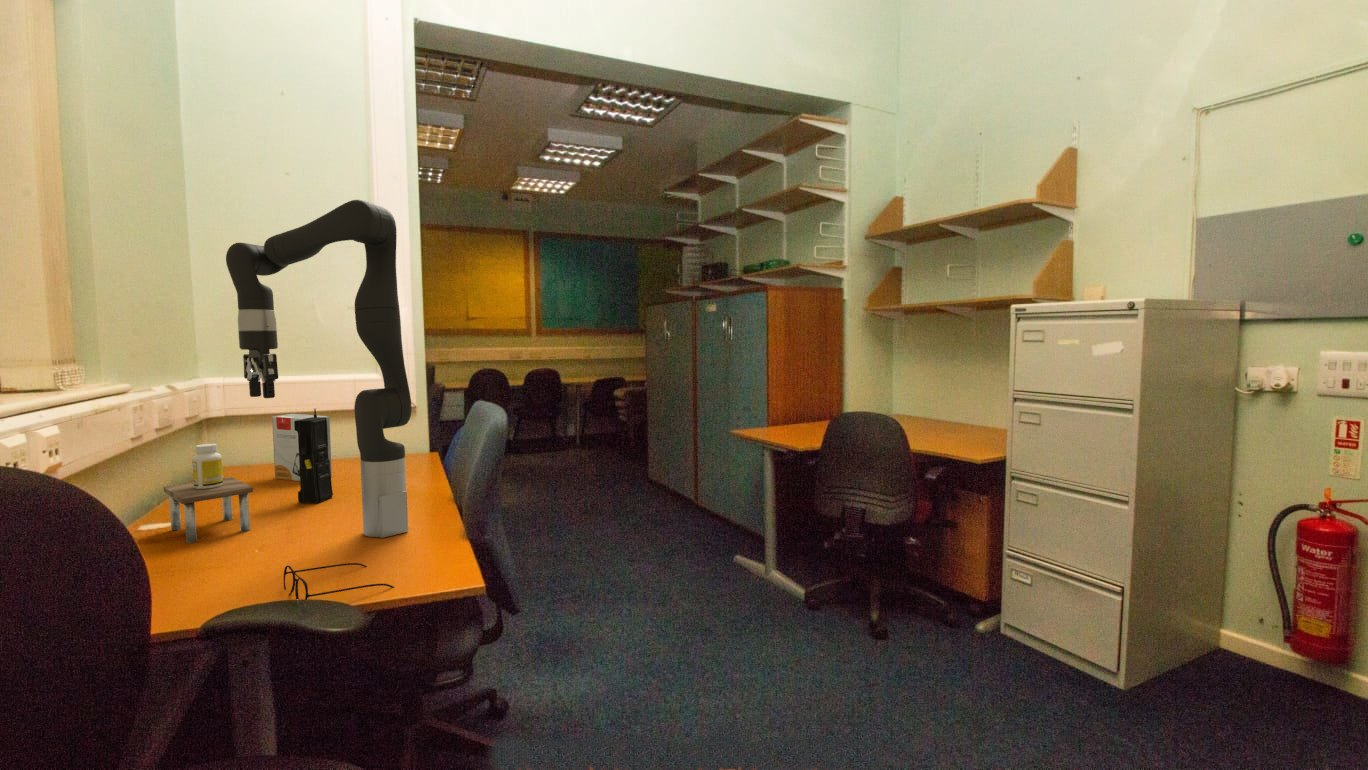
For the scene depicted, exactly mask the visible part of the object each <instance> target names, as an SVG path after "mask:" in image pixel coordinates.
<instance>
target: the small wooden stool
mask: <svg viewBox="0 0 1368 770" xmlns="http://www.w3.org/2000/svg"><path fill="white" fill-rule="evenodd" d="M163 493H165V494H166V495H167V496H168V497H169V498H168V500H169V513H170V514H169V515H170V529H171V530H177V531H181V530H182V518H181V504H182V505H183V509H184V510H183V512H184V527H185V541H186V542H185V543H186V544H193V543H195V542H198V539H197V525H196V524H197V522H196V507H195V506H196V505H195V503H198V502H204V501H209V500H215V499H221V500H222V501H221V502H222V503H221V504H222V515H223V517H222V518H223V519H222V520H223V521H225V522H227V521H228V522H229V521H232V520H233V503H232V502H233V501H232V497H234V496H238V507H239V508H238V509H239V527H240V529H239V530H240V532H241V533H243V532H249V531H251V521H250V518H251V517H250V503H249V494H250V493H254V488H253V486H251V485H249V484H247V483H245V482H243V481H240V480H239V479H237V478H235V477H232V476H228V477H223V485H221V486H219V487H216V488H209V489H195V488H194V483H193V482H187V483H181V484H174V485H168V486H167V485H166V486H163ZM180 529H181V530H180Z"/></svg>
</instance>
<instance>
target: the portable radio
mask: <svg viewBox="0 0 1368 770" xmlns="http://www.w3.org/2000/svg"><path fill="white" fill-rule="evenodd" d="M313 411H314V414H313V415H314V417H311V418H305V419H301V420H296V421H294V427H295V431H297V432H298V445H299V466H300V481H299V483H300V484H299V485H300V487H299V488H300V489H299V491H297V499H298V500H297V501H298V503H300V504H319V503H321V502H324V501H326V500H328V499H331V498H332V497H333V495H334V492H333V485H332V477H331V471H330V460H329V457H328V433H327V420H326V417H317V411H316V409H313Z"/></svg>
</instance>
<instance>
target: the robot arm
mask: <svg viewBox="0 0 1368 770" xmlns="http://www.w3.org/2000/svg"><path fill="white" fill-rule="evenodd" d="M397 235H398V234H397V223H396V220H395V217H394V216H393V214H392V213H391V212H390V211H389V210H388V208H385V207H383V206H380V205H377V204H374V203H371V202H369V201H366V200H361V199H352V200H349V201H347V202H345V203H343V204H341V205H339V206H337V207H335V208H334V209H332V210H330V211H328V212H327V213H325V214H323V215H321V216H319V217H317V218H316V219H313V220H312V221H310V222H308V223H306V224H303V225H302V226H301V225H300V226H298V227H296V228H292V229H290V230H286V231H283V232H281V233H278V234H275V235H272V236H270V237H269V238H267V239H266V240H265V242H264V244H263V245H259V244H251V243H245V242H235V243H233V244H231V245H230V246H229V247H228V249H227V251H226V254H225V262H226V266H227V270H228V273H229V275H230V278H231V280H232V284H233V286H234V288H235V291H236V297H237V309H238V311H237V313H238V314H237V330H238V344H239V345H238V346H239V349H240V350H242V351H243V350H247V351H248V353H244V354H243V355H242V357H243V358H242V361H243V378H244V379H246V380H247V382H248V388H249V396H250V398H259V397H261V396H262V397H263V398H264V399H273V398H275V397H276V394H275V393H276V392H275V383H276V380H279V370H278V368H279V367H278V359H277V358H278V357H277V354H276V353H271V351H270V350H277V349H278V347H279V346H278V330H277V329H278V327H277V318H276V315H275V307H274V303H275V302H274V292H273V289H272V288H271V287H269V286H267V285H265V284H263V283H261V282H260V281H259V277H258V276H262V277H264V276H271V275H274V274H278V273H279V272H281V271H283V270H284V269H285V268H287V267H288V266H289V265H293V264H297V263H298V262H299V263H301V261H306V260H308V259H310V258H312V257H315V255H317V254H319V253H320V251H322V250H323V249H324V248H325V247H326V246H327V245H330V244H333V243H337V242H343V241H345V242H346V241H354V242H357V243H360V244H363V245H364V250H365V261H366V263H365V265H366V267H365V272H364V276H363V278H362V280H361V283H360V285H359V287H358V289H357V292H356V295H355V298H354V299H355V300H354V316H355V317H354V318H355V327H356V332H357V333H356V334H357V336H359V339H360V340H361V342H362V343H363V344H364V346H365V347H366V349H367V350H368V352H369V353H370V354H371V355H372V356H373V358H374V359H375V361H376V362H377V364H378V367H379V368H380V371H381V375H382V379H383V385H384V387H383V388H374V389H373V388H372V389H364V390H361V391H360V392H359V393H358V394H357V395H356V398H355V399H354V400H355V401H354V406H353V407H354V409H353V410H354V420H355V421H354V423H355V430H356V442H357V448H358V451H359V454H360V455H359V456H360V478H361V479H360V480H361V481H360V483H361V502H362V503H361V505H362V526H363V528H362V529H363V535H364V536H366V537H369V538H370V537H371V538H380V539H384V538H387V537H392V536H395V535H399V534H403V533H408V532H409V519H408V517H409V516H408V513H409V512H408V492H407V478H406V477H407V475H406V472H407V471H406V448H405V445H404V444H403V443H401V442H395V441H391V440H389V439H387V438H386V437H385V433H384V429H392V428H398V427H403V426H406V425H407V424H408V423H409V421H410V420H411V416H412V408H413V407H412V399H411V392H410V388H409V382H408V376H407V372H406V365H405V359H404V358H405V357H404V350H403V349H404V348H403V340H402V322H401V321H402V320H401V313H400V312H401V311H400V303H399V294H398V293H399V292H398V278H397V239H398V238H397ZM261 382H262V383H261ZM261 384H262V385H261Z"/></svg>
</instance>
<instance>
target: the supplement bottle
mask: <svg viewBox="0 0 1368 770" xmlns="http://www.w3.org/2000/svg"><path fill="white" fill-rule="evenodd" d="M194 448H195V449H194V450H195V453H196V455H193V456H192V458H191V462H192V464H191V465H192V481H193V482H192V483H194V488H195V489H209V488H216V487H219V486H221V485H223V478H224V476H223V460H222V459H223V458H222V454H221V453H218V452H217V451H218V444H217V443H204V444H203V443H202V444H198V445H195V447H194Z"/></svg>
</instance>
